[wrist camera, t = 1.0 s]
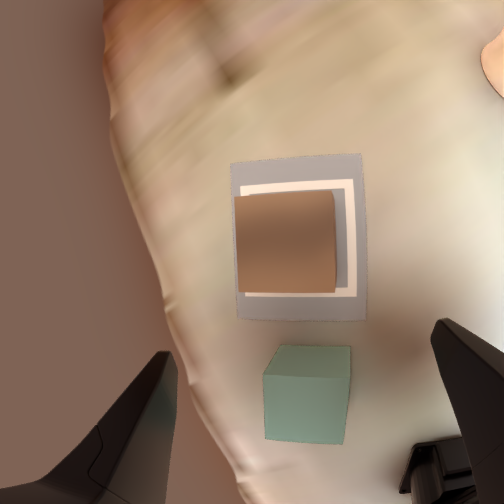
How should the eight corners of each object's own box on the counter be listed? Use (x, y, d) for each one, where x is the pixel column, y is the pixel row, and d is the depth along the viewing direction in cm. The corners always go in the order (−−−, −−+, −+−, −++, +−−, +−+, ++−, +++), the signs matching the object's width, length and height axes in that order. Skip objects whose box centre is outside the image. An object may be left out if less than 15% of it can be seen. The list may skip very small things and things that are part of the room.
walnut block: (337, 276, 19) (334, 292, 15) (263, 277, 21) (238, 292, 16) (334, 199, 19) (331, 190, 14) (259, 203, 21) (234, 196, 16)
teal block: (345, 404, 20) (343, 444, 16) (281, 401, 22) (265, 438, 17) (350, 345, 20) (350, 377, 15) (280, 344, 21) (262, 374, 17)
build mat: (365, 319, 19) (366, 321, 19) (239, 317, 22) (237, 319, 22) (360, 154, 19) (361, 153, 18) (232, 164, 21) (229, 163, 21)
